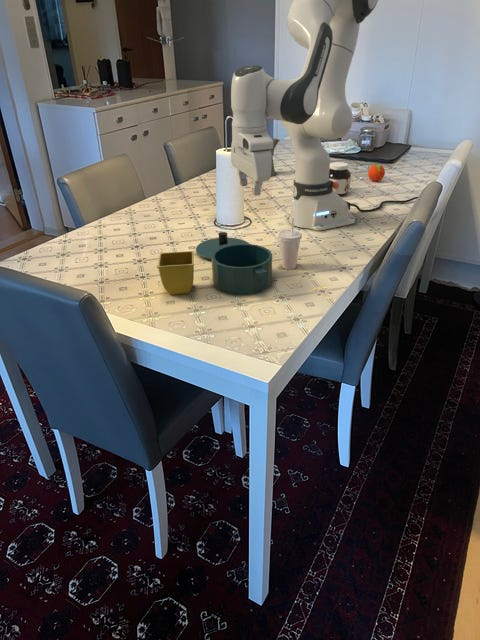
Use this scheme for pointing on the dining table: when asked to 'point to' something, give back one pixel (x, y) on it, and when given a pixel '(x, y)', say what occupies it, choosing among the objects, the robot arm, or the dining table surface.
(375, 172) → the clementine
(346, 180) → the spread jar
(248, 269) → the pot
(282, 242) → the smoothie
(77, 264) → the dining table surface
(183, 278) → the flower pot
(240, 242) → the lid
